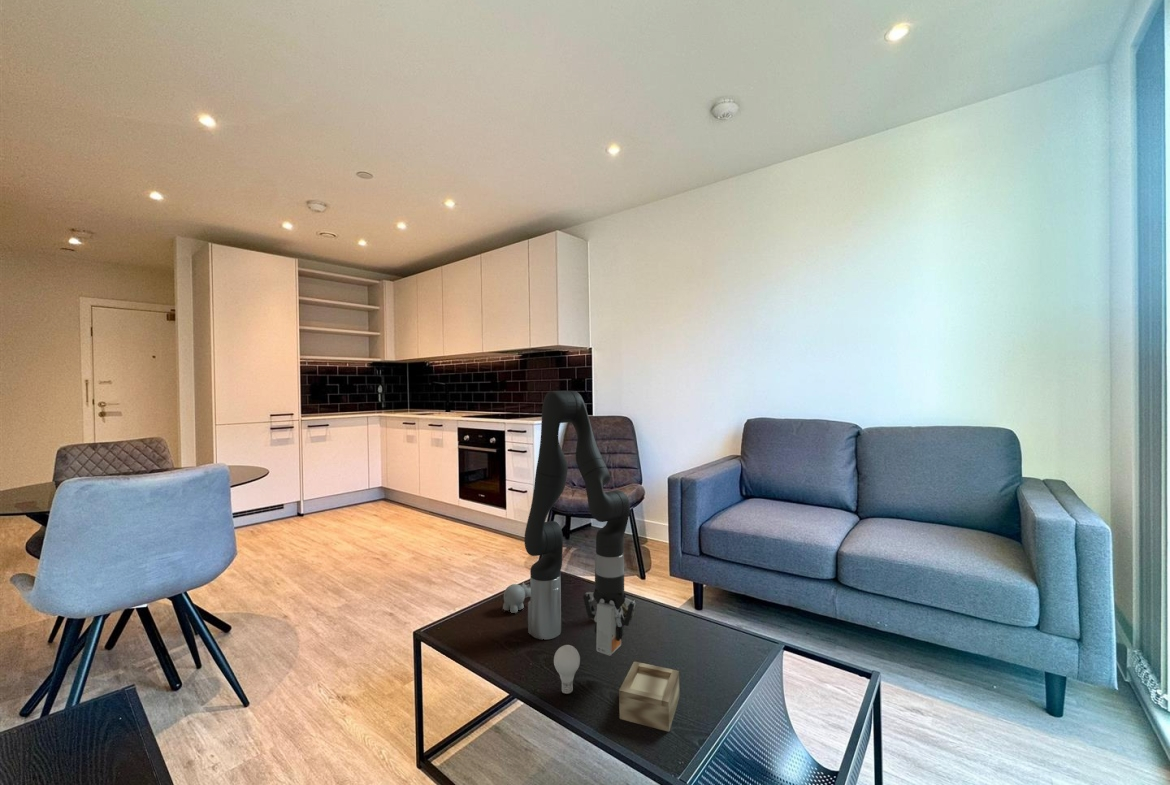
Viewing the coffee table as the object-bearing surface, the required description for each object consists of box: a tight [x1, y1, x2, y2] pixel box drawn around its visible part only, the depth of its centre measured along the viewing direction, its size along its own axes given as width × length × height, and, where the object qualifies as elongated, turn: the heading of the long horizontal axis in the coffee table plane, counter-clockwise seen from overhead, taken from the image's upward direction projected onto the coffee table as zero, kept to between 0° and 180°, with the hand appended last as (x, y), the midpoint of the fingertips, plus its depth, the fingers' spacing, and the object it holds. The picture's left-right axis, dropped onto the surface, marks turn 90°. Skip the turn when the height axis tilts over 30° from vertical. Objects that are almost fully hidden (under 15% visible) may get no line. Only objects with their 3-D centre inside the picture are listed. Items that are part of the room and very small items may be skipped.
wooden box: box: [618, 661, 680, 733], centre depth 103 cm, size 11×12×6 cm
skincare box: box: [595, 603, 622, 657], centre depth 115 cm, size 6×4×12 cm
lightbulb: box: [553, 644, 581, 695], centre depth 109 cm, size 6×6×11 cm
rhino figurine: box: [502, 581, 531, 614], centre depth 155 cm, size 7×12×8 cm, turn 140°
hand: (609, 636), depth 115 cm, fingers closed on skincare box, 4 cm apart
